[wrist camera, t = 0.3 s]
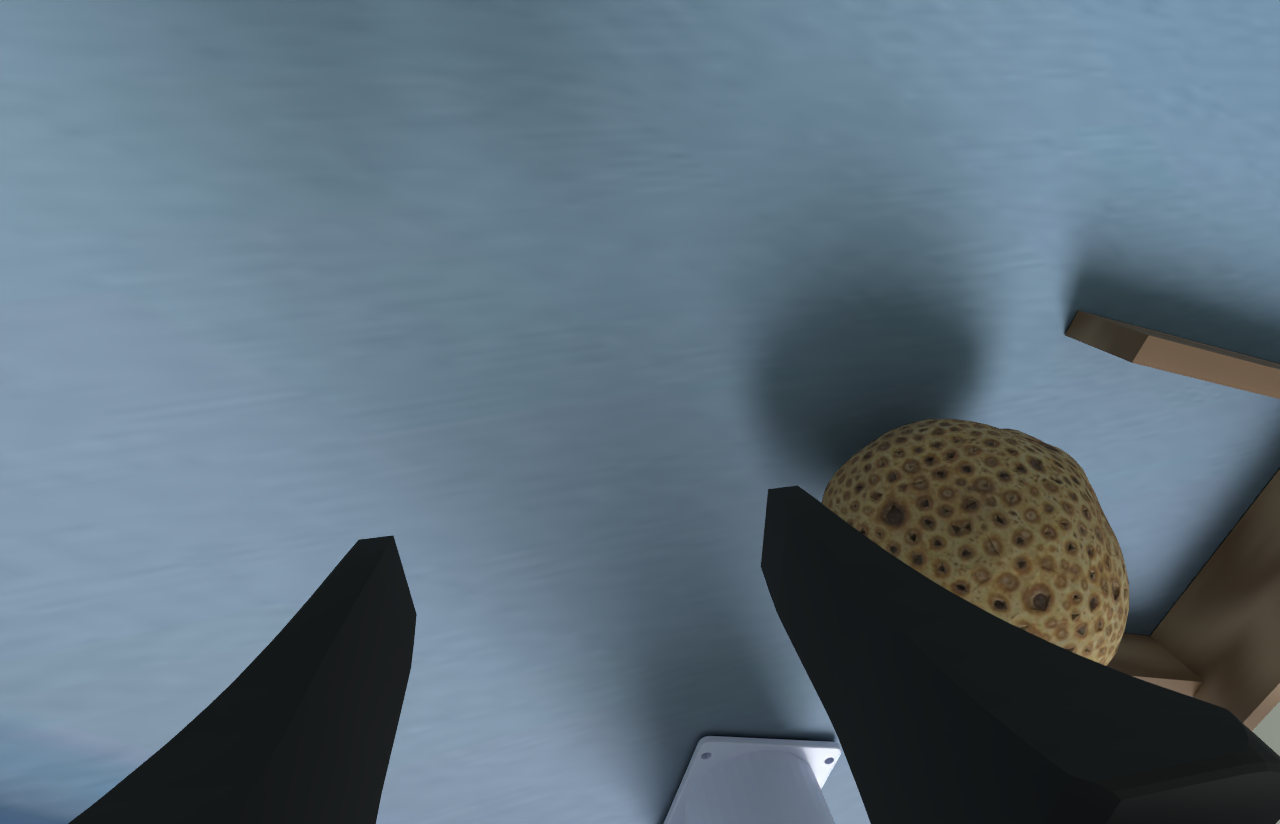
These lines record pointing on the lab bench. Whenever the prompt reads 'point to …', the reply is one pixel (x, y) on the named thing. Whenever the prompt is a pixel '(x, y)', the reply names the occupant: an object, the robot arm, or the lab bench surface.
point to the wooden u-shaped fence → (1236, 573)
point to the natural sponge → (993, 527)
